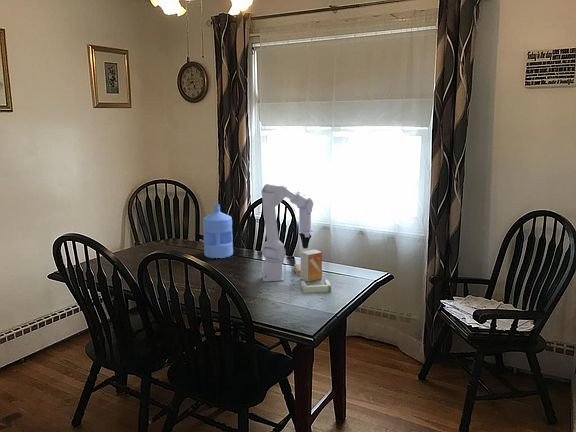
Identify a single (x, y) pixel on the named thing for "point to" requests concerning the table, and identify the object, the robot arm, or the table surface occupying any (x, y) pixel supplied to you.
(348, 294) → the table surface
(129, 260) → the table surface
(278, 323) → the table surface
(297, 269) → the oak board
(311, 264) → the small box
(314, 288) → the tray
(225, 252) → the water jug
